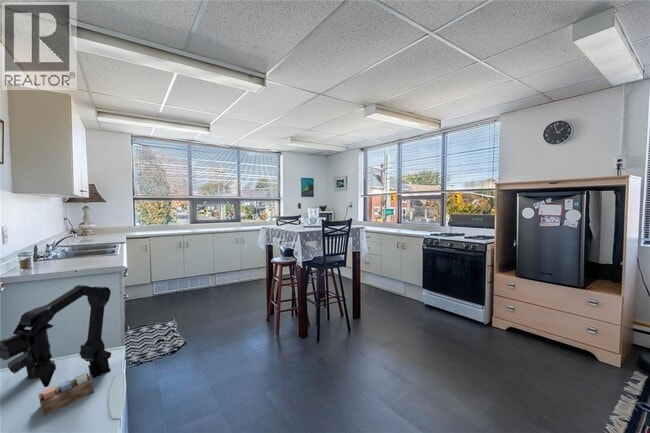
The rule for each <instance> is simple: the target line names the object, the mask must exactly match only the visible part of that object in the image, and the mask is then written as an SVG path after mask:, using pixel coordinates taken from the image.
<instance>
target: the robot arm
mask: <svg viewBox="0 0 650 433" xmlns="http://www.w3.org/2000/svg"><path fill="white" fill-rule="evenodd" d="M111 292H112V291H111V289H110V287H108V286H96V285H95V286H90V285H89V286H88V285H82V284H78V285H76V286H74V287H73V288H71V289H70V290H68V291H67V292H65V293H63V294H62V295H60V296H59V297H57V298H55V299H54V300H52V301H50V302H49V303H47V304H45V305H42V306H39V307H35V308H33V309H31V310H29V311H26V312H24V313H23V314H22V315H21V316H20V319H19V322H18V324H17V325H16V327H15V329H14V330H13V332H12V336H10V337H7V338H4V339H2V340H0V359H1V360H3V361H7V360H9V359H11V358H13V357H15V358H14V359H12V360H10V361H8V363H7V368H8V369H9V370H10V373H13V374H16V373H18V372H20V371H21V370H22V369H25V368H26V366H27V365H28V364H29V363H30V366H31V365H35V366H34V367H33V368H32V369H31V371H32V376H33V378H34V379H39V380H40V382H41V383H42V386H43V387H44V388H47V387H49V386H50V383H51V380H52V378H53V376H54V374H55V372H56V370H57V366H56V363H55V360H51V358H52V359H53V357H52V356H53V355H52V353H51V344H50V341H49V334H48V329H51V328H53V327H54V324H51V323H49V322H50V321H51V320H53V318H54V317H55V315H56V314H57V313H59V312H61V311H62V310H64V309H65V308H67V307H68V306H70V305H72V304H73V303H75V301H77V300H79V299H80V298H82V297H83V296H86V297H87V302H88V304H89V306H90V314H89V321H88V329H87V330H88V331H87V340H86V342H85V343H84V344H81V345H80V347H79V348H80V351H79V354H78V355H79V356H80V358H81V359H82V360H83V361H84V360H85V362H89V364H88V371H89V372H88V373H89V375H90V376H92V378H93V379H96V378H97V377H100V376H101V375H104V374H107V373H109V372H111V371H112V370H111V368H110V364H109V359H110V358H111V356H112V352H111V351H107V350H105V343H104V341H103V339H102V335H103V325H104V324H103V323H104V317H105V316H104V314H105V306H106V305H107V304H108V302H109V301H110V296H111V295H112V294H111ZM26 328H27V329H26ZM28 328H29V329H28ZM26 350H27V352H26V353H24V354H22V353H23V352H24V351H26ZM19 354H20V355H19ZM17 355H19V356H17ZM16 356H17V357H16Z"/></svg>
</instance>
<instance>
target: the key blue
mask: <svg viewBox="0 0 650 433" xmlns="http://www.w3.org/2000/svg"><path fill="white" fill-rule="evenodd" d="M58 386H60V391H61V393H62V392H64V391H66V390H69V389H71V388H72V384H71V379H68V380H64V381H63V382H60V383H59V384H58Z"/></svg>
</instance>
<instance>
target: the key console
mask: <svg viewBox="0 0 650 433" xmlns="http://www.w3.org/2000/svg"><path fill="white" fill-rule="evenodd" d="M85 374H86V375H87V380H88V381H87V382H84V383H82V384H80V385H78V386H77V384H76V378H74V379H72V380H71V379H70V381H71V384H72V388H71V389H69V390H66V391H64V392H62V393H61V391H60V385H58V386H55V387H54V390H55V396H53V397H50V398H48V399H46V400H44V398H43V393H42V392H41V393H39V394H38V399H39V404H40V407H41V408H40V409H41V412H42V414H43V417H45V416H47V415H49V414H52V413H54V412H56V411H58V410H60V409H63V408H64V407H66V406H69V405H71V404H73V403H75V402H77V401H79V400H81V399H84V398H85V397H88V396H90V395H93V394H94V392H95V391H94V386H93V381H92V379H91V377H90V376H89V374H88V373H85Z"/></svg>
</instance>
